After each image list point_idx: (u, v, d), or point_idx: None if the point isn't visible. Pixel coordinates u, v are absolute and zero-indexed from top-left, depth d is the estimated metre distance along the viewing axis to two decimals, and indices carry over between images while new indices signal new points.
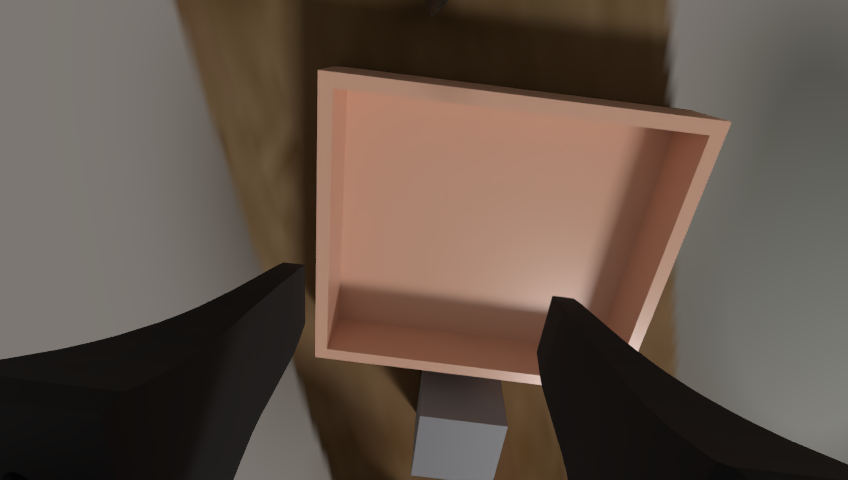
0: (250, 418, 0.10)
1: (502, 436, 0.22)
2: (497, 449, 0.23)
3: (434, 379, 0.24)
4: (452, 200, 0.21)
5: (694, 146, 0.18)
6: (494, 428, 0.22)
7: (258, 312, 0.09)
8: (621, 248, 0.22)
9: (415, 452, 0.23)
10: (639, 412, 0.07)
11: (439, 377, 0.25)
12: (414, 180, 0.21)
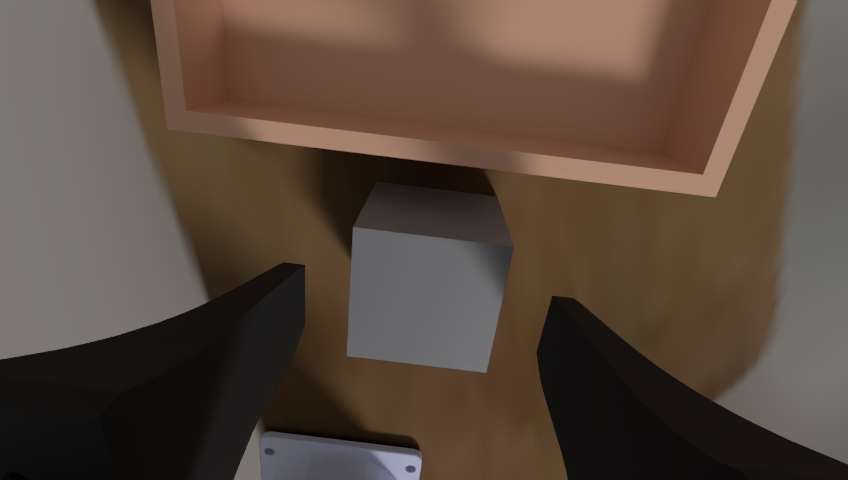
0: (251, 418, 0.10)
1: (504, 269, 0.12)
2: (495, 297, 0.13)
3: (388, 198, 0.14)
4: None
5: None
6: (489, 252, 0.12)
7: (258, 312, 0.09)
8: None
9: (350, 308, 0.13)
10: (640, 412, 0.07)
11: (397, 197, 0.15)
12: None
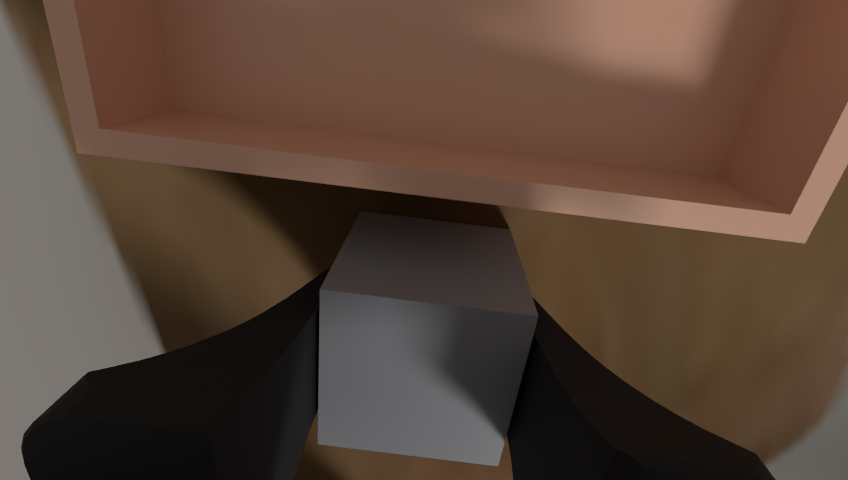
0: (306, 425, 0.10)
1: (524, 344, 0.09)
2: (511, 378, 0.10)
3: (373, 238, 0.11)
4: None
5: None
6: (504, 323, 0.09)
7: (316, 319, 0.09)
8: None
9: (320, 388, 0.10)
10: (565, 402, 0.07)
11: (385, 236, 0.11)
12: None
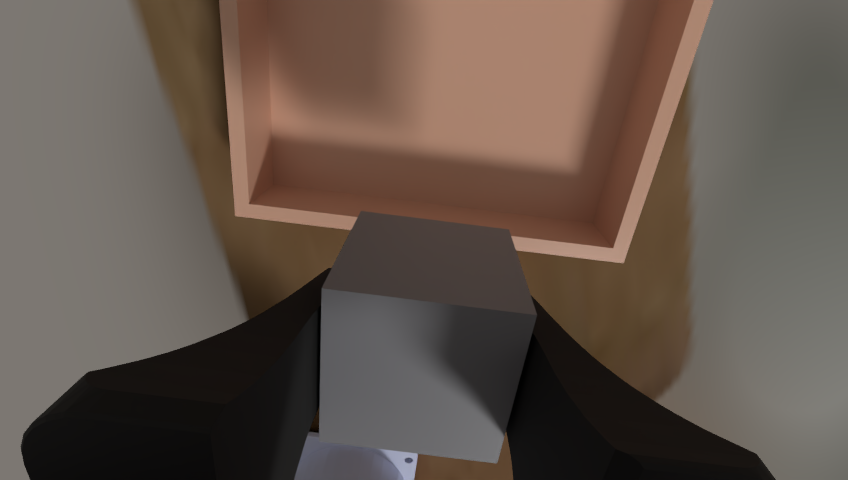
0: (305, 425, 0.10)
1: (523, 342, 0.09)
2: (510, 376, 0.10)
3: (374, 237, 0.11)
4: (406, 4, 0.17)
5: None
6: (503, 321, 0.09)
7: (316, 319, 0.09)
8: (622, 72, 0.17)
9: (322, 386, 0.10)
10: (564, 402, 0.07)
11: (385, 236, 0.12)
12: None
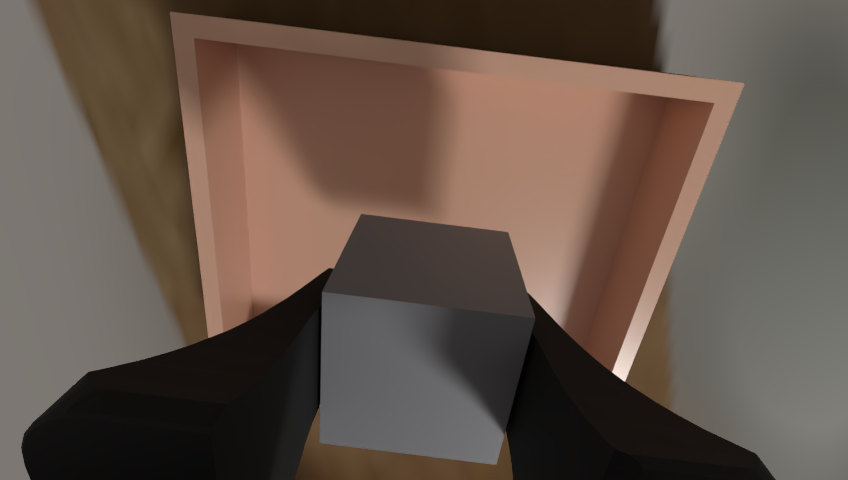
0: (306, 425, 0.10)
1: (522, 344, 0.09)
2: (509, 379, 0.10)
3: (374, 241, 0.12)
4: (384, 194, 0.17)
5: (693, 120, 0.13)
6: (502, 324, 0.09)
7: (316, 319, 0.09)
8: (600, 255, 0.17)
9: (322, 388, 0.10)
10: (564, 402, 0.07)
11: (385, 239, 0.12)
12: (334, 169, 0.16)
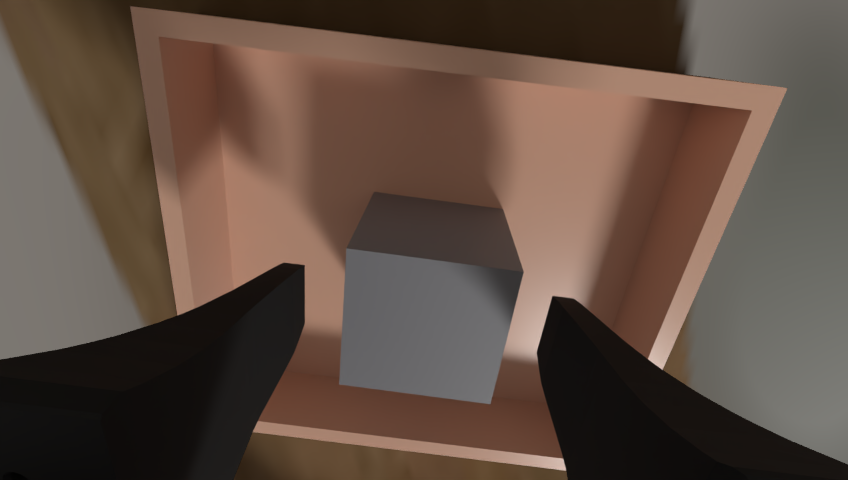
0: (251, 418, 0.10)
1: (512, 295, 0.11)
2: (502, 325, 0.12)
3: (386, 212, 0.13)
4: None
5: (724, 129, 0.12)
6: (496, 277, 0.11)
7: (258, 312, 0.09)
8: (615, 275, 0.16)
9: (343, 334, 0.12)
10: (639, 412, 0.07)
11: (396, 211, 0.14)
12: (322, 181, 0.15)
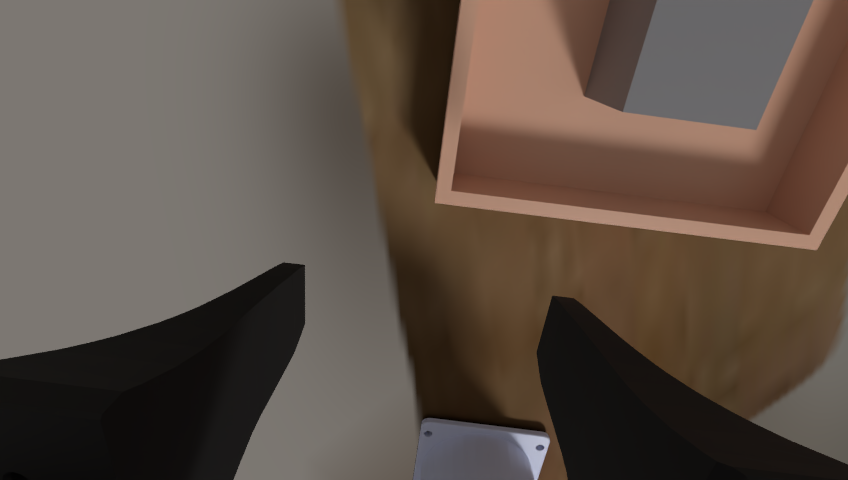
0: (251, 418, 0.10)
1: (808, 1, 0.13)
2: (790, 36, 0.13)
3: None
4: None
5: None
6: None
7: (258, 312, 0.09)
8: (822, 61, 0.17)
9: (642, 52, 0.14)
10: (640, 412, 0.07)
11: None
12: None
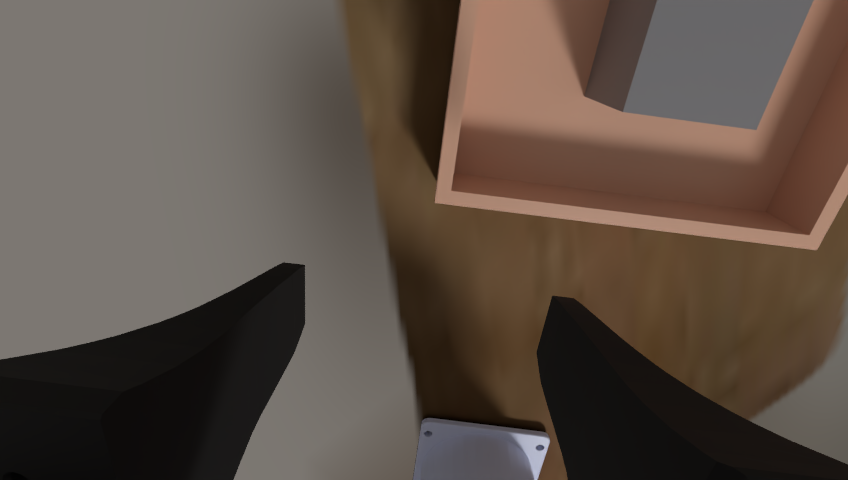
0: (250, 418, 0.10)
1: (808, 1, 0.13)
2: (790, 36, 0.13)
3: None
4: None
5: None
6: None
7: (258, 312, 0.09)
8: (822, 61, 0.17)
9: (642, 52, 0.14)
10: (640, 412, 0.07)
11: None
12: None
